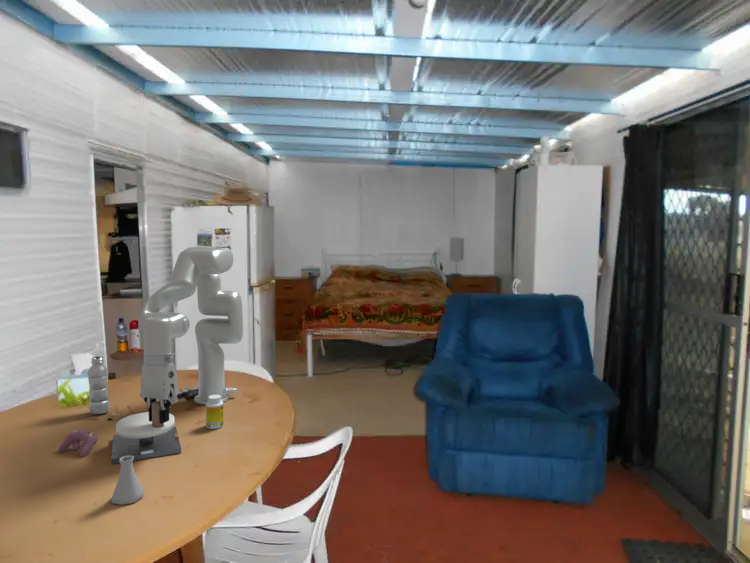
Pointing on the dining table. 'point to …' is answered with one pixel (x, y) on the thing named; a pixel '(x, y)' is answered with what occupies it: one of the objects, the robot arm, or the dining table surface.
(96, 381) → the plastic bottle
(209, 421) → the supplement bottle
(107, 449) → the dining table surface
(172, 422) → the white piece
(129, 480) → the flask
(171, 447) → the mount
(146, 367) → the robot arm
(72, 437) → the video game controller
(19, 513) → the dining table surface
